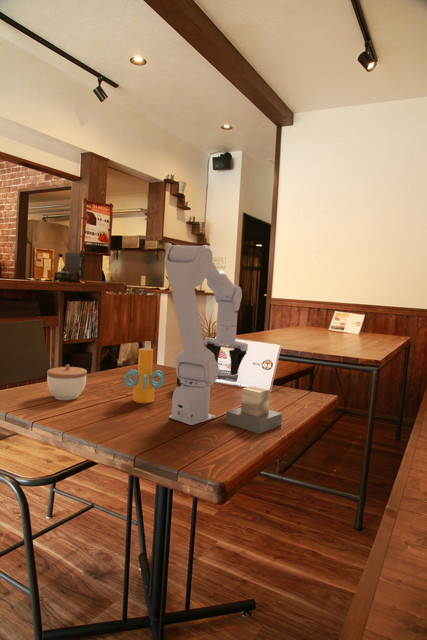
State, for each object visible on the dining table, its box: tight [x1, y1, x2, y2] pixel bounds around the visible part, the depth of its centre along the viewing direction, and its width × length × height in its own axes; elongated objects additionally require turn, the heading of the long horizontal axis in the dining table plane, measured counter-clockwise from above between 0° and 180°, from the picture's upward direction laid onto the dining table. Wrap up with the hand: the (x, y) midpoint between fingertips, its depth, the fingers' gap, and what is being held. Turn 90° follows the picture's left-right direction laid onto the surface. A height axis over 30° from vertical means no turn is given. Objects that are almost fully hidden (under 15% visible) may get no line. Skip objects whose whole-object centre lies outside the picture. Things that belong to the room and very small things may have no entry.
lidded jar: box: [46, 364, 88, 401], centre depth 119 cm, size 11×11×9 cm
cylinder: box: [123, 347, 165, 404], centre depth 120 cm, size 12×10×15 cm
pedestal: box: [225, 407, 283, 435], centre depth 105 cm, size 10×10×3 cm
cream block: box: [241, 385, 271, 417], centre depth 105 cm, size 5×5×6 cm
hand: (223, 372), depth 121 cm, fingers open, 7 cm apart
